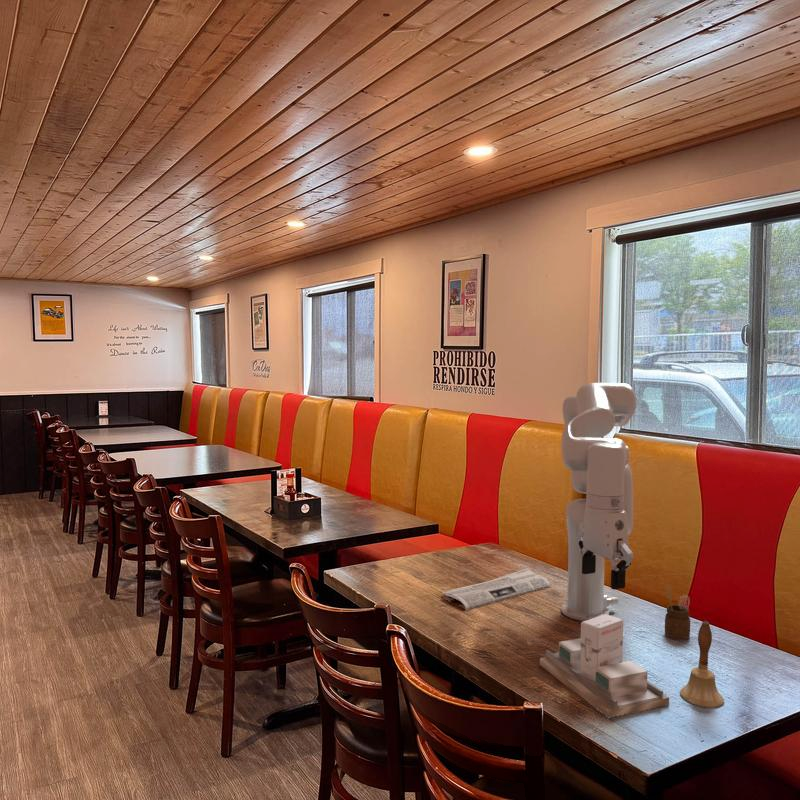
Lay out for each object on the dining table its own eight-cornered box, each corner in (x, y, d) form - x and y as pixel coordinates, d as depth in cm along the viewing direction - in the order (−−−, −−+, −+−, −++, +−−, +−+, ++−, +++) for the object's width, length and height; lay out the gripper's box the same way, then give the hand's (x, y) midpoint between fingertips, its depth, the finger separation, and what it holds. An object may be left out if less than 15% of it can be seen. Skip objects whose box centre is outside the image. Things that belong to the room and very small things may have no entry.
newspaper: (465, 612, 182) (465, 599, 182) (438, 598, 192) (438, 586, 192) (553, 588, 202) (554, 576, 202) (524, 577, 212) (524, 566, 212)
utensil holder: (680, 642, 162) (682, 594, 161) (658, 633, 167) (659, 587, 167) (695, 637, 165) (696, 590, 165) (672, 628, 171) (673, 583, 170)
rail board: (594, 654, 155) (595, 629, 155) (669, 704, 133) (670, 675, 132) (539, 664, 150) (540, 638, 149) (607, 718, 127) (608, 688, 127)
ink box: (604, 664, 146) (606, 612, 145) (623, 673, 142) (624, 619, 141) (578, 674, 141) (579, 620, 140) (597, 684, 137) (598, 628, 136)
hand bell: (711, 687, 140) (713, 614, 139) (732, 707, 132) (735, 630, 131) (672, 687, 140) (675, 614, 139) (691, 708, 131) (694, 630, 130)
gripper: (647, 509, 132) (645, 592, 133) (593, 492, 148) (592, 566, 150) (617, 512, 130) (614, 597, 131) (565, 494, 146) (564, 570, 147)
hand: (602, 580), depth 140 cm, fingers open, 9 cm apart
